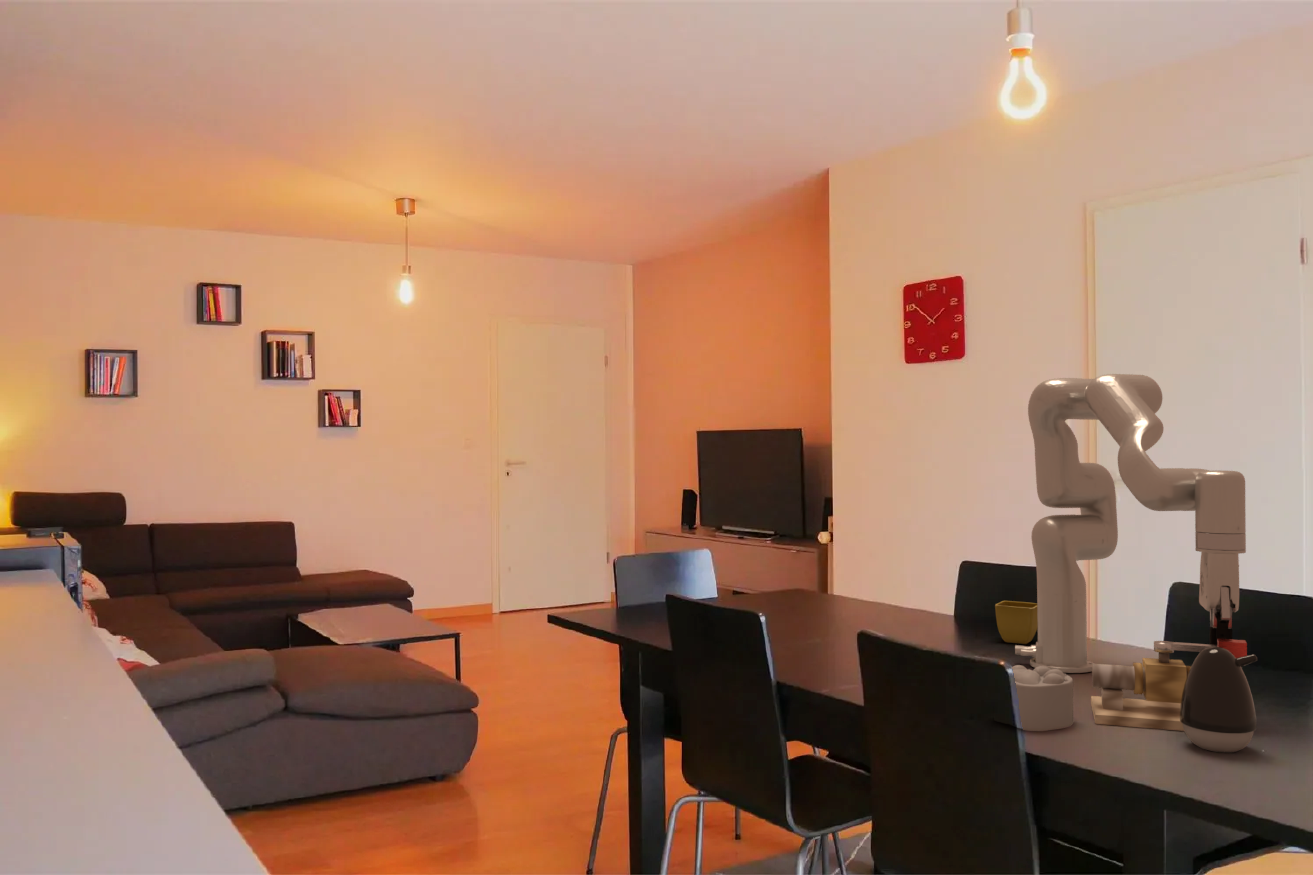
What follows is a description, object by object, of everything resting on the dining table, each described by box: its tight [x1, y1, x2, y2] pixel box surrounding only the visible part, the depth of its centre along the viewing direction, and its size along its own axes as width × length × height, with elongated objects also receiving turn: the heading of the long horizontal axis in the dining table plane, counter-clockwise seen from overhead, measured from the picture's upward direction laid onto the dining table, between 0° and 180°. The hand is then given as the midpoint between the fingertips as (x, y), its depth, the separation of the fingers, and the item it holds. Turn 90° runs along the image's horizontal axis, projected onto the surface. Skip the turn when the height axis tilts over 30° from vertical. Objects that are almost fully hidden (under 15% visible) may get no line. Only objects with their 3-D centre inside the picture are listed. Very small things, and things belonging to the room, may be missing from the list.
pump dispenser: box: [1180, 647, 1258, 754], centre depth 156 cm, size 10×10×15 cm
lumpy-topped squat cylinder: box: [1011, 664, 1074, 732], centre depth 172 cm, size 10×13×9 cm
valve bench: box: [1090, 652, 1192, 732], centre depth 173 cm, size 22×14×11 cm, turn 70°
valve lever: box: [1153, 639, 1248, 658], centre depth 171 cm, size 14×3×2 cm, turn 65°
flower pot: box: [994, 600, 1038, 645], centre depth 244 cm, size 9×9×9 cm
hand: (1221, 651), depth 175 cm, fingers closed
